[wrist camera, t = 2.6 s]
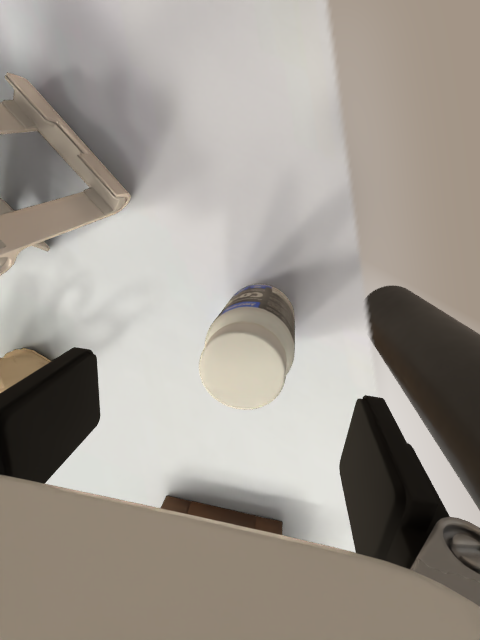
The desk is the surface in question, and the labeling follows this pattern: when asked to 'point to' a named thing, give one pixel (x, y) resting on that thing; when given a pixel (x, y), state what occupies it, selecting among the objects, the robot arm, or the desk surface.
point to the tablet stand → (64, 213)
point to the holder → (222, 515)
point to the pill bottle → (249, 348)
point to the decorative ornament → (19, 366)
